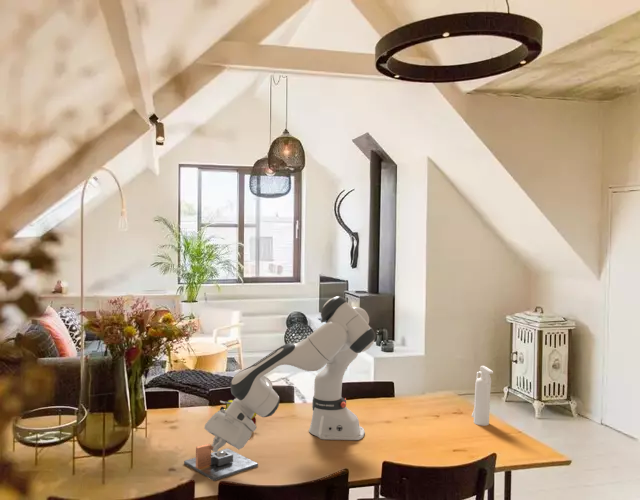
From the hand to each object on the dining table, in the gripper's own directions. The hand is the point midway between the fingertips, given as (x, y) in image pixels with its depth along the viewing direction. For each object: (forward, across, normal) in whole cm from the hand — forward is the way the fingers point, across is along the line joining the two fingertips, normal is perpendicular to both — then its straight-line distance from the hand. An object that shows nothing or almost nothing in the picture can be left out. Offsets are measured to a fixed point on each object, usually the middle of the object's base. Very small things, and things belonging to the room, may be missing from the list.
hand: (212, 450), depth 199 cm
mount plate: (+2, -1, +7) cm, 8 cm away
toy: (-18, -33, +30) cm, 48 cm away
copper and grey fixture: (+3, -1, +4) cm, 5 cm away
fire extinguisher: (-77, +29, +88) cm, 121 cm away
